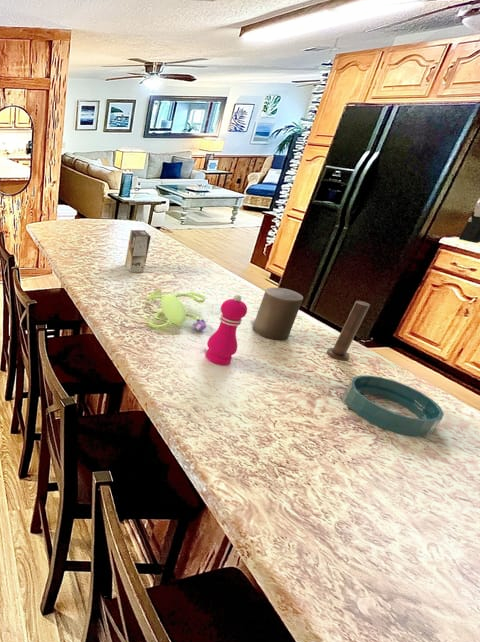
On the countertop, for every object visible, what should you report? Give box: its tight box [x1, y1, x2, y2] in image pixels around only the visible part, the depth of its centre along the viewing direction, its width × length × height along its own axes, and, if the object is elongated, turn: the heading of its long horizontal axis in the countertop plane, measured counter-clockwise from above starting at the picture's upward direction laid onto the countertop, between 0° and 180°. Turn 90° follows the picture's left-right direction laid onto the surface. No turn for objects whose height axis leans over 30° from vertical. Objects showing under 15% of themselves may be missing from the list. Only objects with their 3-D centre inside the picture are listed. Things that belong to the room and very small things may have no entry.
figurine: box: [146, 289, 207, 331], centre depth 130 cm, size 18×27×6 cm
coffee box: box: [124, 229, 152, 273], centre depth 167 cm, size 9×6×16 cm
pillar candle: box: [252, 286, 304, 341], centre depth 119 cm, size 10×10×15 cm
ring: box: [341, 374, 445, 438], centre depth 88 cm, size 15×15×6 cm
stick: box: [326, 300, 371, 361], centre depth 108 cm, size 5×5×17 cm
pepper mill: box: [205, 294, 248, 366], centre depth 104 cm, size 7×7×20 cm
